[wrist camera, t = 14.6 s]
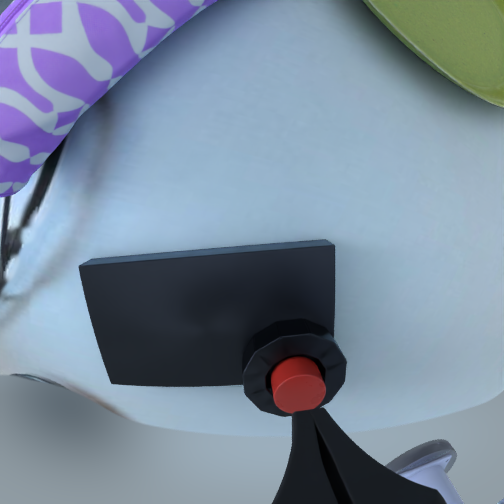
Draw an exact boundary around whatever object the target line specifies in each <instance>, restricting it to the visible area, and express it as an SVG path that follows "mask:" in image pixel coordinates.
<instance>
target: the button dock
mask: <svg viewBox="0 0 504 504" xmlns="http://www.w3.org/2000/svg"><path fill="white" fill-rule="evenodd" d="M79 272H80V277H81V281H82V286H83V290H84V295H85V299H86V303H87V307H88V311H89V315H90V319H91V322H92V326H93V329H94V333H95V336H96V340H97V343H98V346H99V349H100V353H101V356H102V359H103V362H104V365H105V368H106V371H107V373H108V376H109V379H110V382H111V384H118V385H135V386H163V387H199V386H227V385H244V393H245V395H246V396H247V397H248V398H249V399H250V400H251V401H252V402H253V403H254V404H255V405H256V406H257V407H258V408H259V409H260V410H261V411H264V412H267V413H271V414H274V415H278V416H282V417H287V416H292V413H287V412H284V411H282V410H281V409H279V408H278V407H277V406H276V404H275V402H274V398H273V391H272V384H271V374H272V371H273V370H274V368H275V367H276V366H277V365H278V364H279V363H280V362H281V361H283V360H285V359H287V358H290V357H297V356H300V357H306V358H309V359H311V360H312V361H314V362H315V363H316V365H317V366H318V369H319V371H320V374H321V376H322V379H323V381H324V384H325V386H326V394H325V397H324V399H323V401H322V402H321V403H320V404H319V405H318V406H317V407H316V408H320V407H322V406H323V405H325V404H327V403H329V402H330V401H331V400H332V399H333V397H334V396H335V395H336V393H337V392H338V391H339V389H340V388H341V387H342V385H343V384H344V382H345V375H346V364H347V361H346V358H345V357H344V355H343V353H342V351H341V350H340V348H339V346H338V344H337V343H336V341H335V340H334V318H335V245H334V244H332V243H331V242H329V241H328V240H326V239H324V240H312V241H299V242H286V243H273V244H261V245H249V246H236V247H224V248H212V249H200V250H189V251H177V252H165V253H154V254H142V255H131V256H119V257H108V258H97V259H91V260H89V261H87V262H85V263H83V264H81V265H79ZM316 408H314V409H316Z"/></svg>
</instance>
